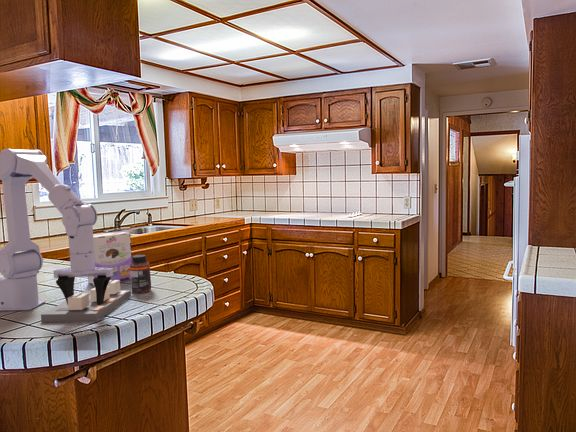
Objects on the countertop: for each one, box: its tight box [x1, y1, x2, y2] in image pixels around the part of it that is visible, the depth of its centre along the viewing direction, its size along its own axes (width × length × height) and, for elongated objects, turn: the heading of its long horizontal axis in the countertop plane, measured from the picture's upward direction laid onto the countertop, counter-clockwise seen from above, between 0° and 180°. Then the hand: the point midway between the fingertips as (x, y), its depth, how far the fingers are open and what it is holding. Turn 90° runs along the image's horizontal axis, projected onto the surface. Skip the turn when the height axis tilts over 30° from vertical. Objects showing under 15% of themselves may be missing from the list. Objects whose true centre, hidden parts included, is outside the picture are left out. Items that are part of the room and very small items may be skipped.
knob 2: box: [107, 280, 122, 294], centre depth 132 cm, size 4×4×3 cm
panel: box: [40, 289, 132, 323], centre depth 125 cm, size 14×23×2 cm, turn 178°
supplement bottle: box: [130, 254, 152, 294], centre depth 142 cm, size 6×6×11 cm
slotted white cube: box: [68, 293, 89, 310], centre depth 118 cm, size 4×4×3 cm
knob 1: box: [89, 286, 110, 302], centre depth 125 cm, size 4×4×3 cm
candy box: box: [87, 231, 133, 287], centre depth 157 cm, size 14×6×16 cm, turn 134°
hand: (85, 304), depth 118 cm, fingers open, 7 cm apart
